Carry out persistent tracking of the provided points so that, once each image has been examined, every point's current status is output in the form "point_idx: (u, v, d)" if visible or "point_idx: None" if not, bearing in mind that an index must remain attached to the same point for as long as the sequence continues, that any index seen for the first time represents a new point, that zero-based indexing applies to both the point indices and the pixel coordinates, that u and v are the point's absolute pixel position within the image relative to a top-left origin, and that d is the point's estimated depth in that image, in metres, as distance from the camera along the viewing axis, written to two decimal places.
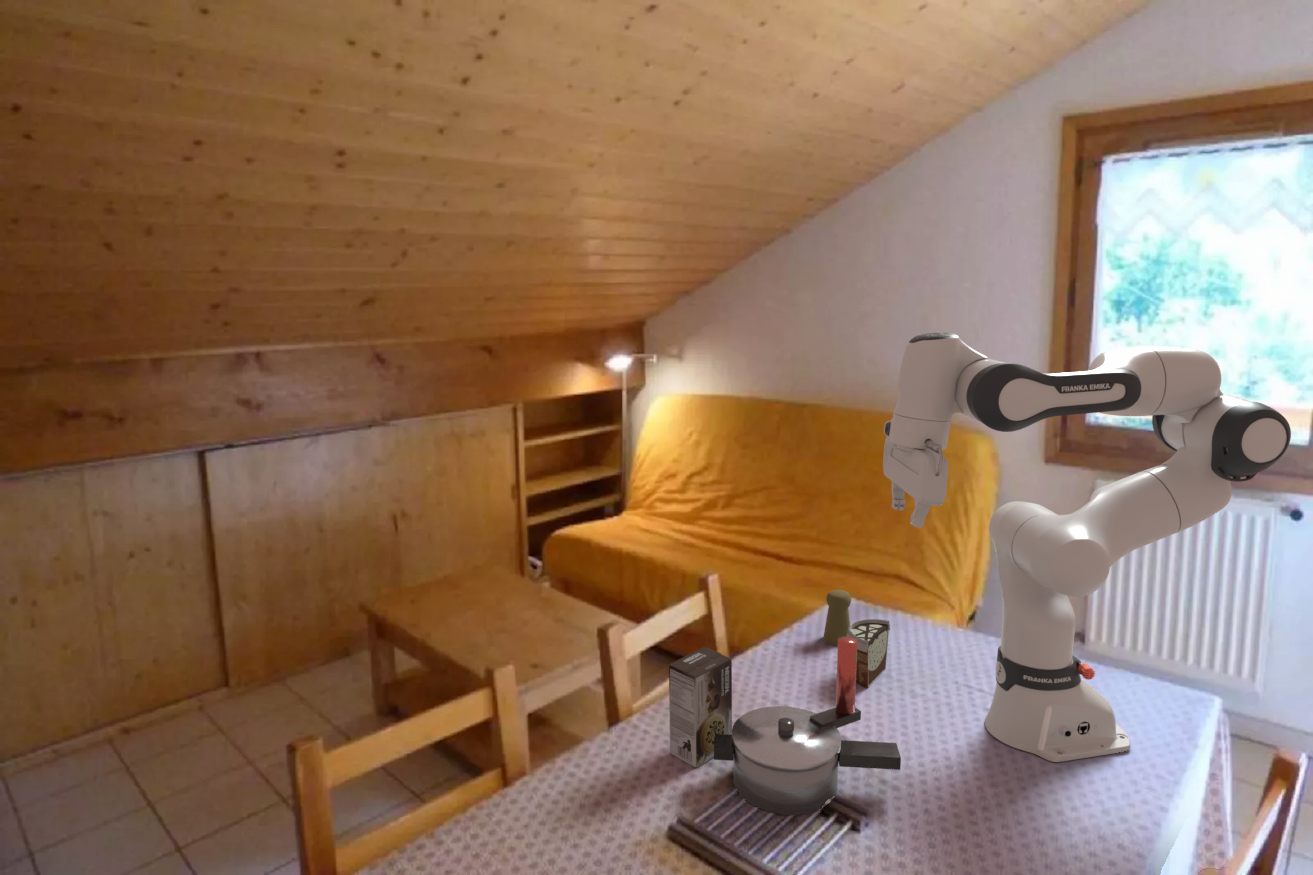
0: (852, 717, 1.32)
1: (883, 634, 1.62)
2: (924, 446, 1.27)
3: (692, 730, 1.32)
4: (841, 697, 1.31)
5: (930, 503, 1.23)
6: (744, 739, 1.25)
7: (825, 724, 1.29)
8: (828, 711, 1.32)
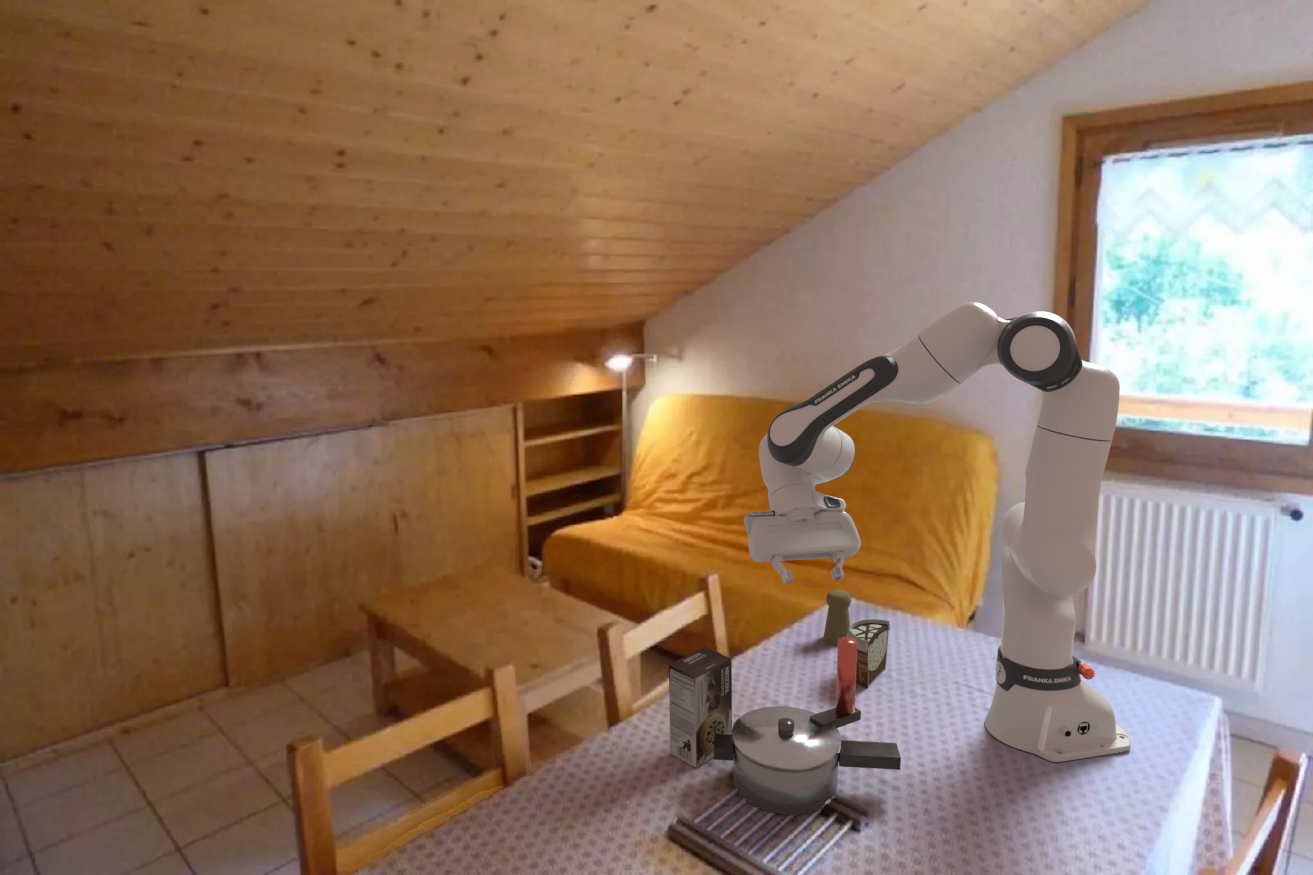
0: (852, 717, 1.32)
1: (883, 634, 1.62)
2: None
3: (692, 730, 1.32)
4: (841, 697, 1.31)
5: (754, 557, 1.44)
6: (744, 739, 1.25)
7: (825, 724, 1.29)
8: (828, 711, 1.32)
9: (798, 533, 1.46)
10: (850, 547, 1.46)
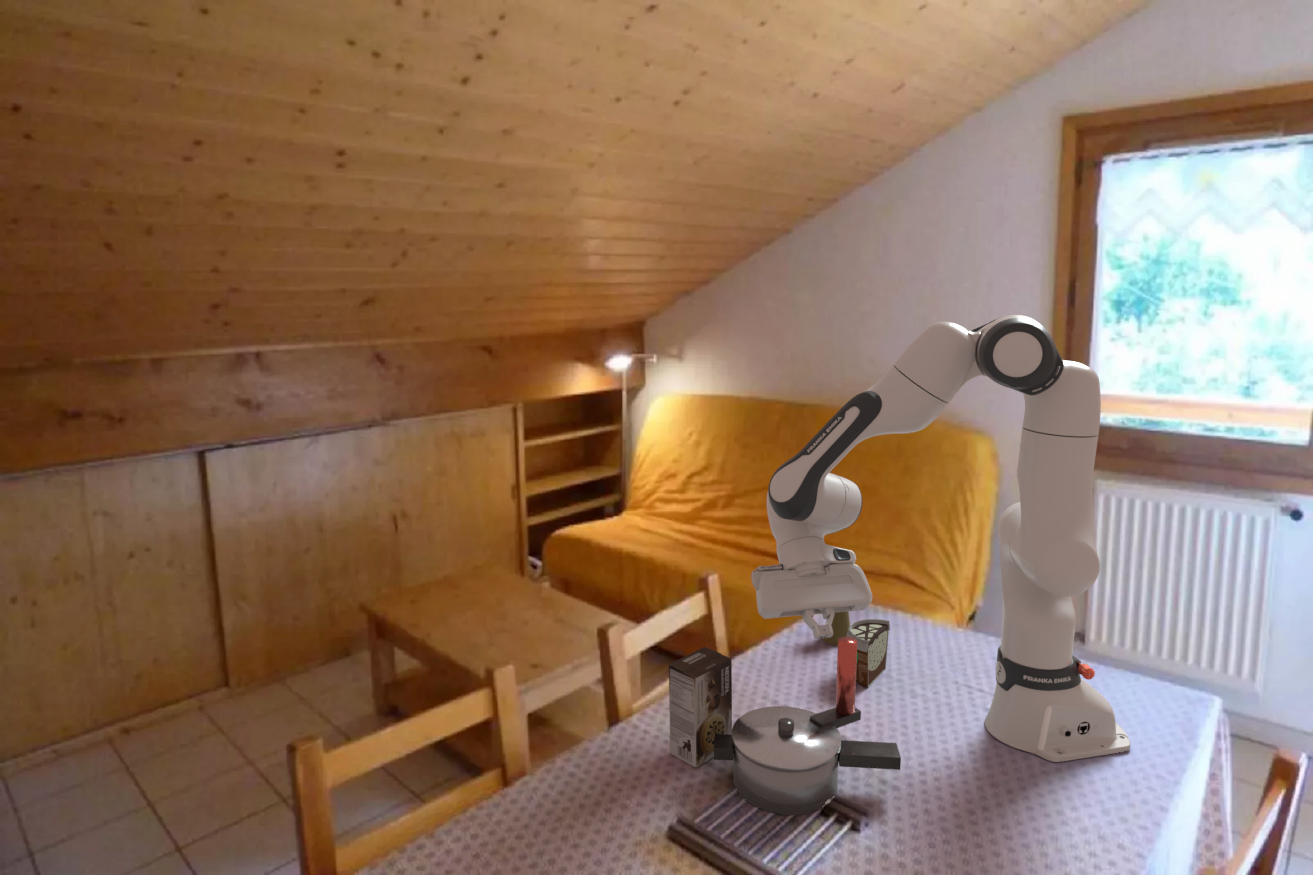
0: (852, 717, 1.32)
1: (883, 634, 1.62)
2: None
3: (692, 730, 1.32)
4: (841, 697, 1.31)
5: (762, 614, 1.41)
6: (744, 739, 1.25)
7: (825, 724, 1.29)
8: (828, 711, 1.32)
9: (807, 588, 1.43)
10: (861, 601, 1.43)
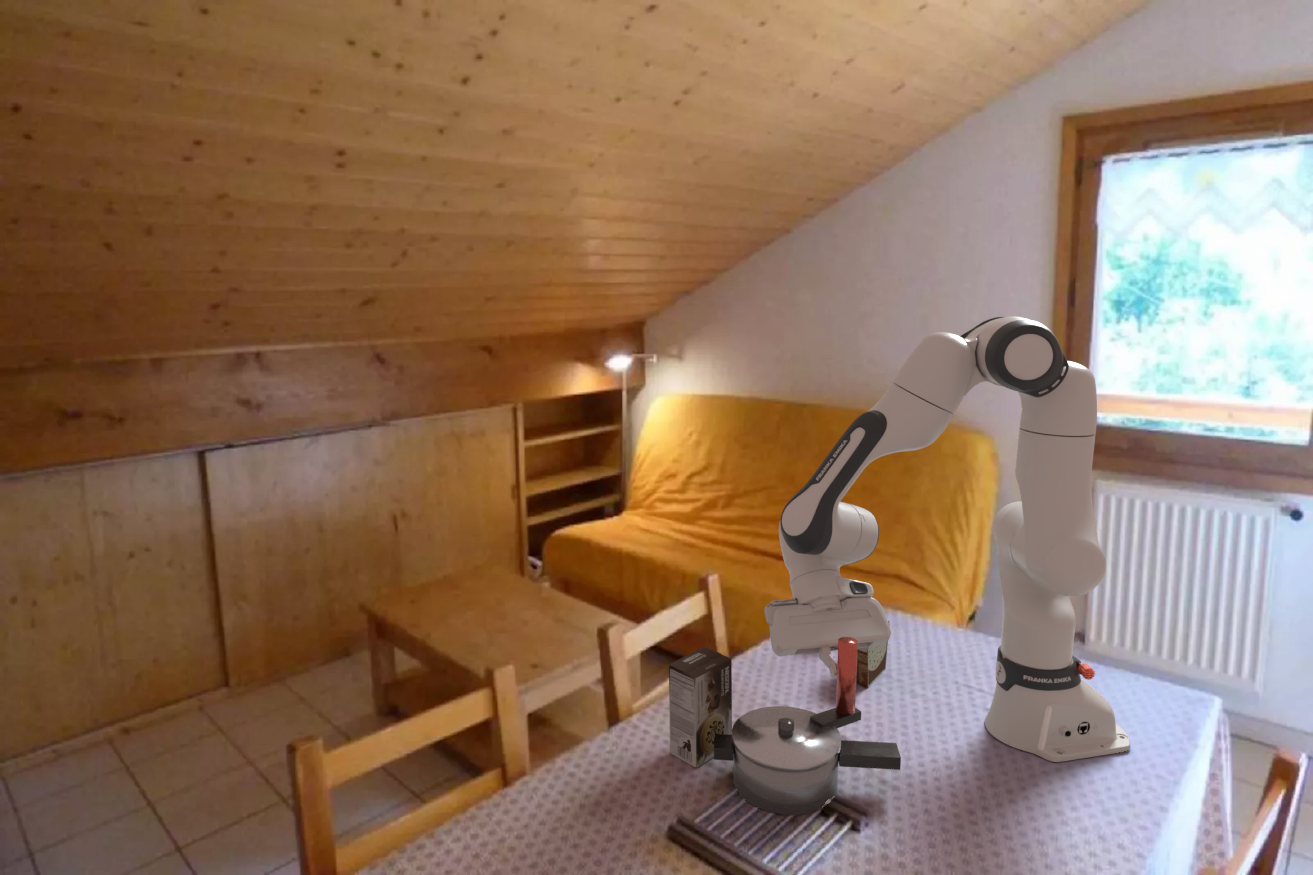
0: (852, 717, 1.31)
1: None
2: None
3: (692, 730, 1.32)
4: (841, 697, 1.31)
5: (777, 652, 1.35)
6: (744, 739, 1.25)
7: (825, 724, 1.29)
8: (828, 711, 1.32)
9: (823, 624, 1.36)
10: (879, 637, 1.36)
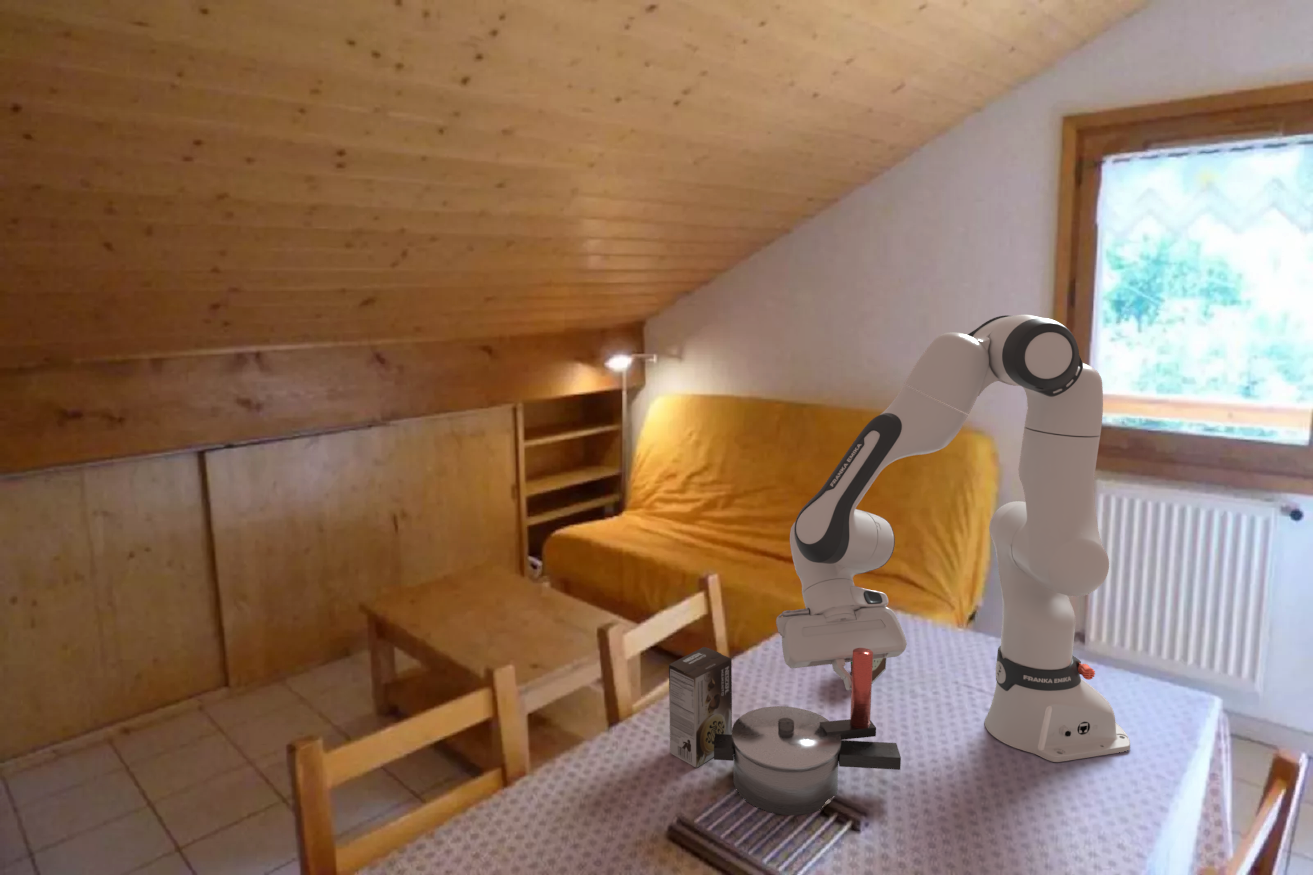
0: (865, 732, 1.27)
1: None
2: None
3: (692, 730, 1.32)
4: (853, 708, 1.27)
5: (789, 664, 1.31)
6: (742, 731, 1.28)
7: (830, 732, 1.26)
8: (842, 721, 1.29)
9: (837, 635, 1.32)
10: (895, 648, 1.33)
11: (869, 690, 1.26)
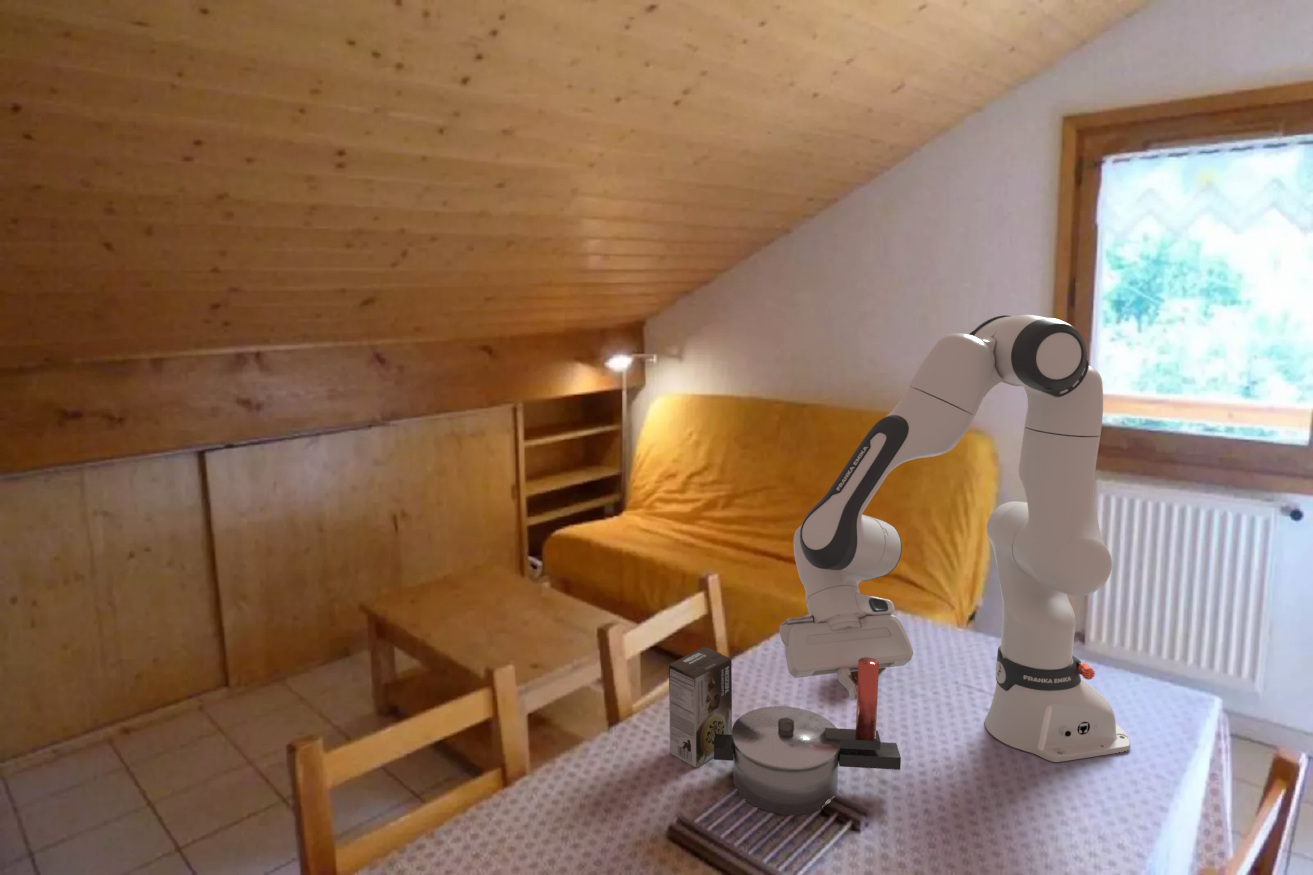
0: (868, 744, 1.24)
1: None
2: None
3: (692, 730, 1.32)
4: (857, 718, 1.24)
5: (793, 673, 1.28)
6: (744, 725, 1.30)
7: (830, 739, 1.25)
8: (848, 730, 1.27)
9: (842, 643, 1.29)
10: (901, 657, 1.29)
11: (873, 702, 1.23)
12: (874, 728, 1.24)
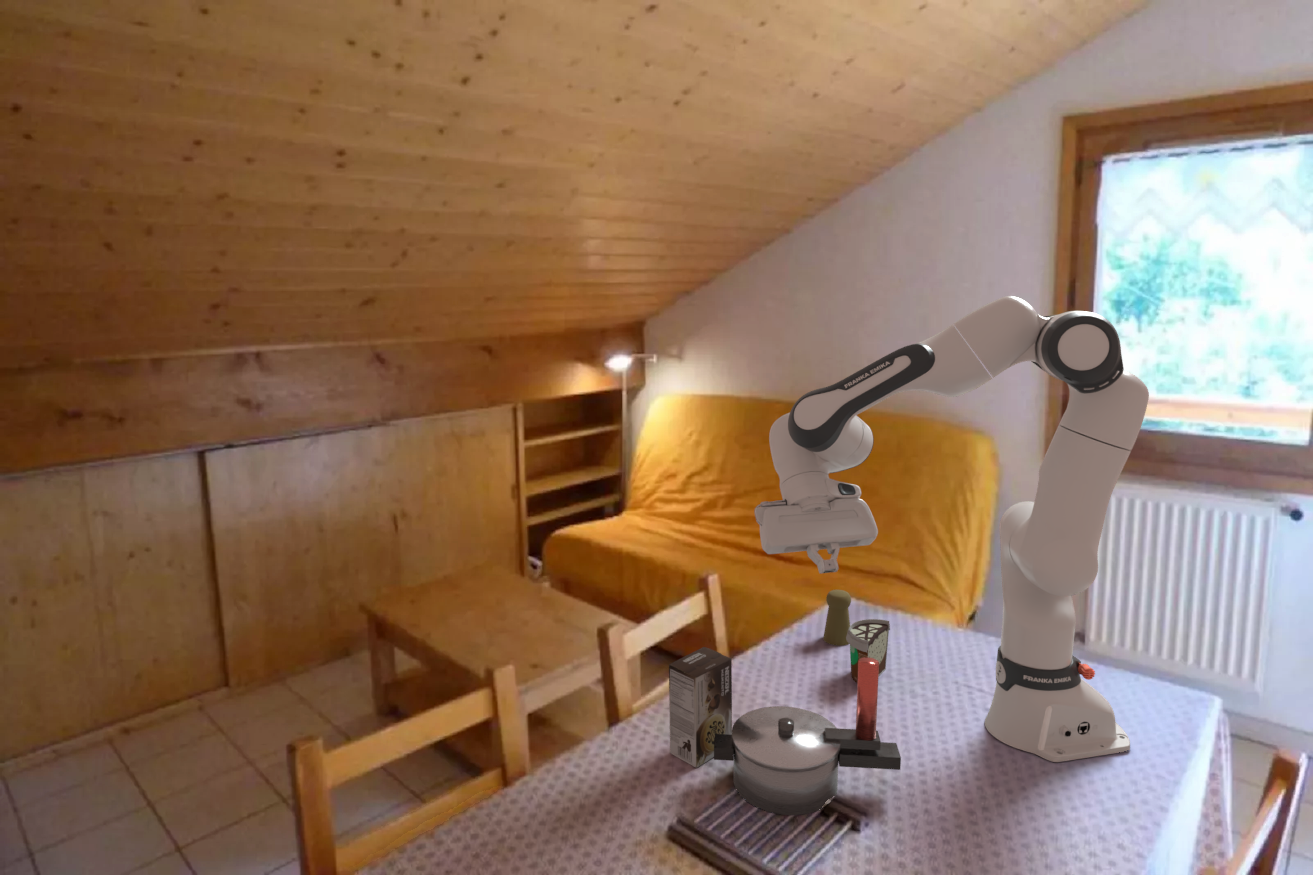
0: (868, 744, 1.24)
1: (883, 634, 1.62)
2: None
3: (692, 730, 1.32)
4: (857, 718, 1.24)
5: (766, 549, 1.38)
6: (744, 725, 1.30)
7: (830, 739, 1.25)
8: (848, 730, 1.27)
9: (812, 523, 1.40)
10: (866, 536, 1.40)
11: (873, 702, 1.23)
12: (874, 728, 1.24)
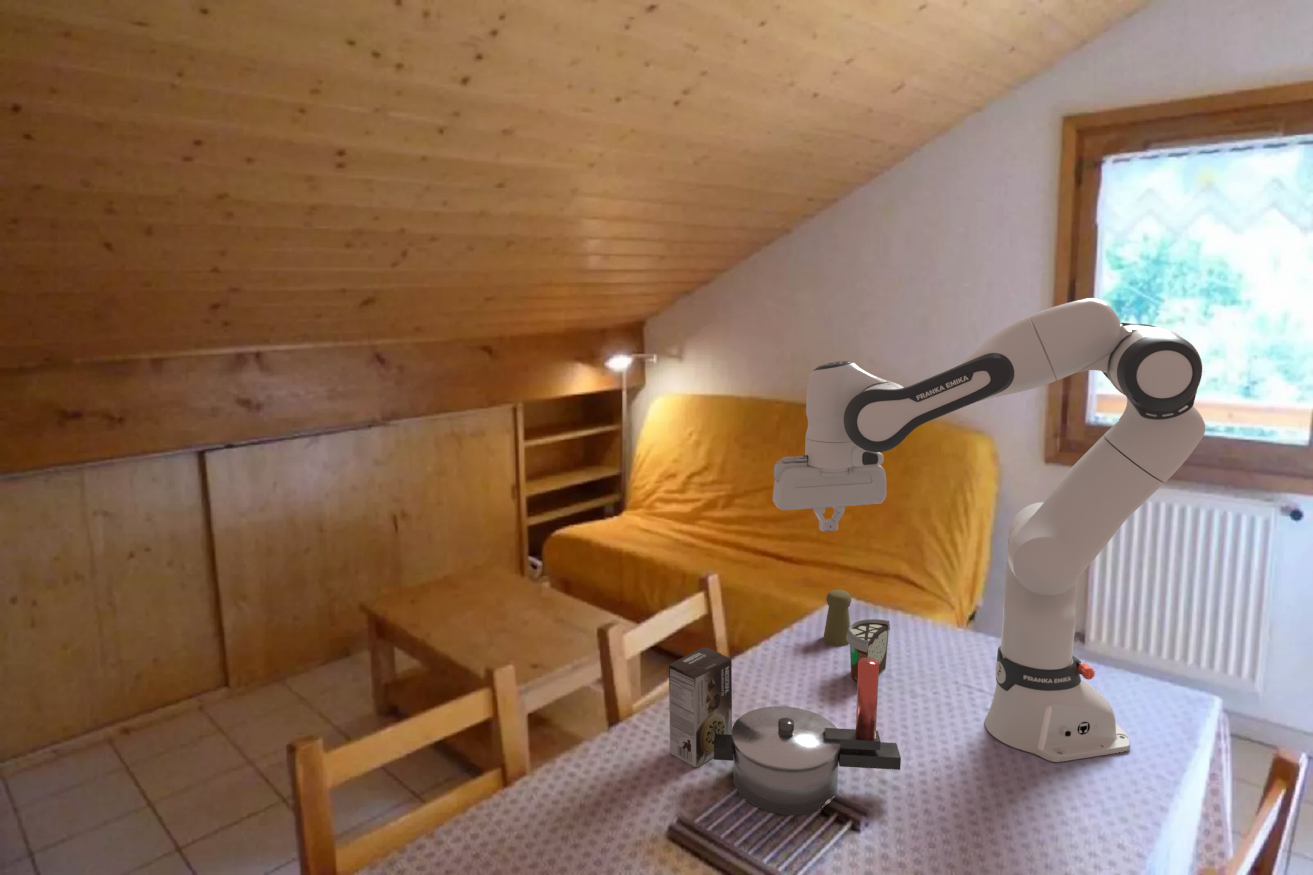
0: (868, 744, 1.24)
1: (883, 634, 1.62)
2: None
3: (692, 730, 1.32)
4: (857, 718, 1.24)
5: (776, 505, 1.44)
6: (744, 725, 1.30)
7: (830, 739, 1.25)
8: (848, 730, 1.27)
9: (826, 488, 1.43)
10: (873, 502, 1.45)
11: (873, 702, 1.23)
12: (874, 728, 1.24)
